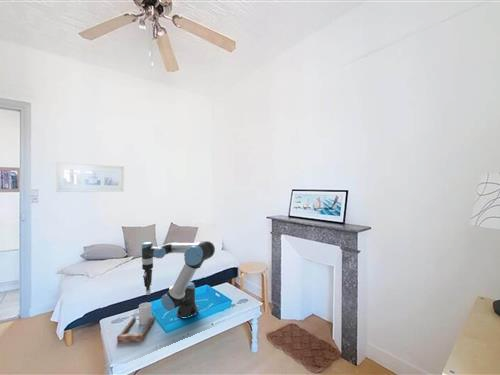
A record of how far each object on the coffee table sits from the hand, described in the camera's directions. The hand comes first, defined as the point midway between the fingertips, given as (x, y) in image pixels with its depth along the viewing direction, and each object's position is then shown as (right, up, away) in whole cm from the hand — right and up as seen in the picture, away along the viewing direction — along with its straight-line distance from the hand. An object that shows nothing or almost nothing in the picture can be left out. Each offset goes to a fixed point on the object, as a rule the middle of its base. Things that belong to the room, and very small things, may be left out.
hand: (148, 294), depth 191 cm
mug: (+1, -15, -12) cm, 19 cm away
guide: (+1, -15, -21) cm, 26 cm away
